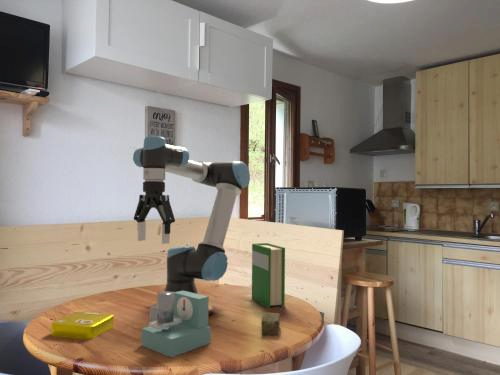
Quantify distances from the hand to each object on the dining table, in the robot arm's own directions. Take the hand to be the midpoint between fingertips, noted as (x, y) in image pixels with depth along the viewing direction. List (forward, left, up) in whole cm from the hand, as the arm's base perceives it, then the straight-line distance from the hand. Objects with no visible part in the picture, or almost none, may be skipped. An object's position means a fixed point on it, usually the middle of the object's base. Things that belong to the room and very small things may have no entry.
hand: (153, 242), depth 144 cm
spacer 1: (+3, +7, -29) cm, 30 cm away
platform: (+11, +21, -24) cm, 33 cm away
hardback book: (-52, +10, -29) cm, 60 cm away
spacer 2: (+11, +21, -21) cm, 31 cm away
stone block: (-23, +34, -29) cm, 50 cm away
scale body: (+7, +21, -29) cm, 36 cm away
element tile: (+19, -12, -29) cm, 37 cm away
